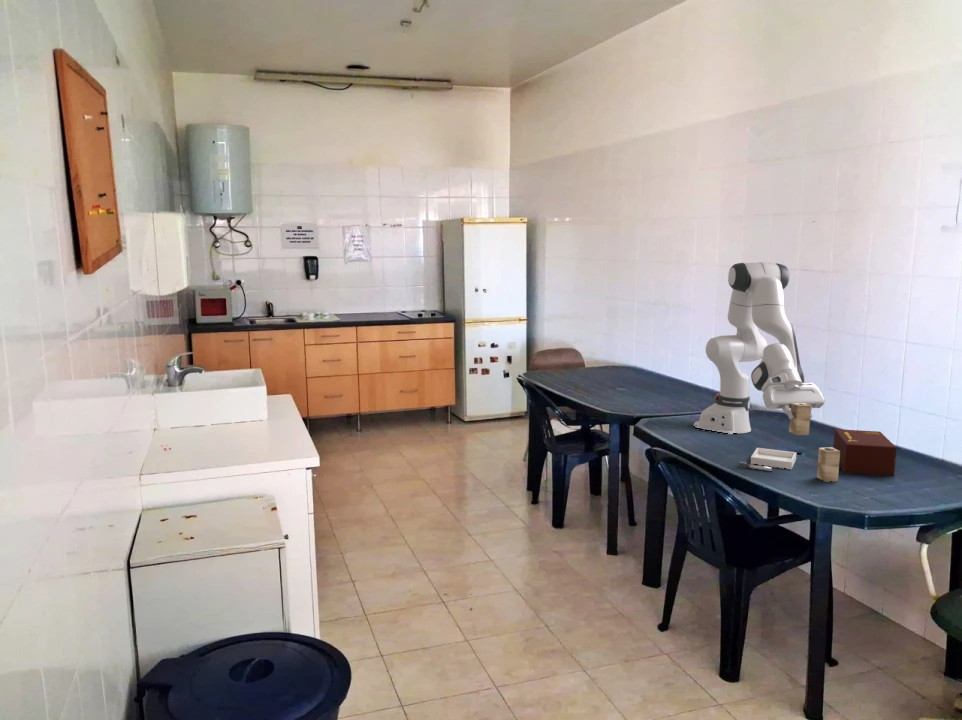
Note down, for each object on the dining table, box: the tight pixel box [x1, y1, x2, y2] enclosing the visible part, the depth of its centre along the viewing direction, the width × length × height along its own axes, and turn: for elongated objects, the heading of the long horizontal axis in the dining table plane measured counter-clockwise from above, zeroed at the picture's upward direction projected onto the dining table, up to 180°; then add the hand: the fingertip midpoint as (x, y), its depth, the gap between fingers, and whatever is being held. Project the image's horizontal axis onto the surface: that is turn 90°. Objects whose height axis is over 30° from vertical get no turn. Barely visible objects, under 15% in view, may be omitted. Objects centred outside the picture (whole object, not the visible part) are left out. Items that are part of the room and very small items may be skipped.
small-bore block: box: [788, 403, 812, 436], centre depth 246 cm, size 4×4×10 cm
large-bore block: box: [816, 446, 840, 483], centre depth 236 cm, size 4×4×10 cm
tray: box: [750, 447, 797, 470], centre depth 256 cm, size 13×13×2 cm
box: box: [832, 428, 897, 477], centre depth 251 cm, size 21×16×10 cm
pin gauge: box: [738, 461, 773, 472], centre depth 248 cm, size 10×2×2 cm, turn 61°
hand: (801, 418), depth 245 cm, fingers closed on small-bore block, 4 cm apart
